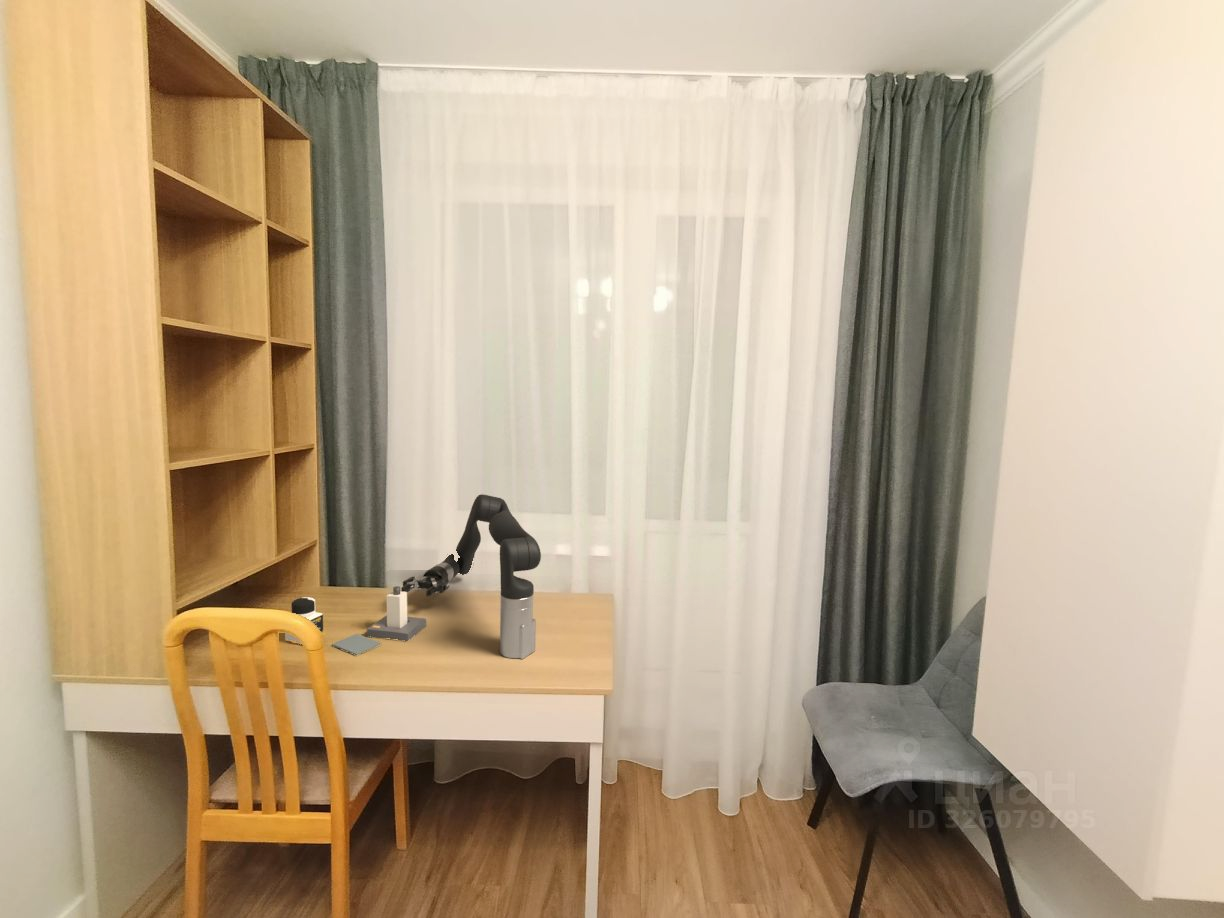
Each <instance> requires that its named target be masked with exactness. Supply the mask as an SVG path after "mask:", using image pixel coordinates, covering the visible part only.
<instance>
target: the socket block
mask: <svg viewBox="0 0 1224 918" xmlns="http://www.w3.org/2000/svg"><path fill="white" fill-rule="evenodd" d="M426 627H427V618H425V617H415V616H407V624H406V625H404V626H403V627H402V628H394V627H387V614H386V615H385V616H384V617H382V618H381V619H379V620H378V621H376V622H374V623H373V624H372V625H370V626H369V627H368V628H366V637H367V636H369V637H368V638H372V637H379V638H378V639H380V638H390V639H398V640H405V641H404V642H406V641H408V640H409V639H410V640H412V639H413V638H414V637H415V636H416V635H418V634H417V633H418V632H419V633H420V632H422V630H424V629H425V628H426ZM414 635H415V636H414ZM370 636H371V637H370ZM413 636H414V637H413ZM412 637H413V638H412ZM411 638H412V639H411ZM410 640H409V641H410ZM409 641H408V642H409Z"/></svg>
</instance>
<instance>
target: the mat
mask: <svg viewBox="0 0 1224 918" xmlns="http://www.w3.org/2000/svg"><path fill="white" fill-rule="evenodd" d="M380 644H381V645H382V642H380V641H377V640H375V639H373V638H370V637H367V636H364V635H362V634H361V635H360V634H358V633H356V634H352V635H351V636H348V637H346V638H343V639H341V640H337V641H335V642H333V643H332V644H331V646H332V647H333V646H334V647H333V648H336V647H338V648H340V649H339V650H341V649H343V650H345V651H348V652H350V653H353V654H355V655H358V654H360V653H362V652H365V651H367V650H369V649H371V648H374V647H376V646H378V645H380ZM378 647H379V646H378ZM338 648H337V649H338ZM376 648H377V647H376ZM374 649H375V648H374ZM343 650H342V651H343ZM345 651H344V652H345ZM369 651H370V650H369ZM348 652H347V653H348ZM367 652H368V651H367ZM350 653H349V654H350ZM365 653H366V652H365ZM353 654H352V655H353ZM355 655H354V656H355ZM358 656H359V655H358Z"/></svg>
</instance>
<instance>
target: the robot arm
mask: <svg viewBox="0 0 1224 918" xmlns="http://www.w3.org/2000/svg"><path fill="white" fill-rule="evenodd" d="M467 517H468V518H467V521H466V525H465V527H464V528H465V529H464V531H463V533H462V536H461V538H460V540H459V542H458V543H457V545H456V548H455V549H456V551H457V553H458V555H459V556H460V558H458V561H457V562H456V561H455V560H454V555H453V554H451V555H449V556H448V557H447V558H446V557H445V558H446V559H445V558H444V560H443V561H441V562H440V563H438V564H436V565H434V566H433V567H431V568H429V569H428V570H426V571H425V572H424V573H423V576H422V577H419V578H416V577H415V576H411V577H409V578H407V579H405V580H404V581H402V587H400V591H402V592H407V593H408V592H410V591H413V590H414V591H418V590H426V592H425V593H426V597H431V596H432V595H433V596H434V594H437V593H440V594H443V593H445V591H447V590H448V589H449V588H450V582H451V580H452V579H454V578H455V577H456V576H458V575H460V574H462V575H461V576H465V575H464V574H466V575H468V574H469V573H470V572H469V570H470V568H471V565H472V561H473V558H474V559H475V555H476V551H477V550H478V548H479V546H480V544H481V540H482V536H481V532H480V530H479V529H480V528H479V527H478V521H479V522H484V523H488V532H489V534H490V537H491V538H492V541H494V542H495V543H496V545H498V546H499V566H500V567H499V568H500V570H499V571H500V572H499V573H500V613H499V616H500V622H499V623H500V625H499V626H500V627H499V629H500V630H499V631H500V632H499V640H500V642H499V653H500V654H501V655H502V656H503V657H505V658H507V659H522V660H523V659H524V658H526V657H528V656H529V655H530V654H532V653H534V652H536V635H537V634H536V633H537V632H536V630H537V620H536V618H534V592H535V590H534V584H533V582H532V581H530V580H528V579H526V578H523V577H518V576H516V575H515V574H514V572H515V573H516V572H523V571H524V572H525V571H531V570H534V569H536V568H538V566H539V565H540V563H541V559H542V553H541V548H540V546H539V543H538V541H537V540H536V539H535V538H534V537H533V536H532V535H530V534H529V533H528V532H527V531H525V529H524V528H523V526H522V525H521V524H520V523H519V522H518V520H517V519H516V518H515V517H514V515H513V514H512V513H511V511H510V509H509V506H508V504H507V503H506V500H504V499H503V498H501V497H497V496H493V495H489V494H482V493H481V494H479V495H477V496H476V497H475V499H474V501H473V504H472V506H471V509H470V513H469V515H468V516H467ZM468 572H469V573H468ZM458 573H460V574H458ZM467 573H468V574H467Z"/></svg>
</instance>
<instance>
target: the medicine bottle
mask: <svg viewBox="0 0 1224 918" xmlns="http://www.w3.org/2000/svg"><path fill="white" fill-rule="evenodd" d="M292 613H296V614H299V615H301V616H303V617H306V618H307V619H309V620H311V621H312V622H313V623H314V624H315V625H316V626H317V627H318V628H319V630H320V631H321V632H322V634H323V635H324V614H323V612H318V611H316V599H315V598H313V597H307V596H304V597H303V596H302V597H299V598H297V599H295V600H293V601H292V602H291V614H292ZM287 639H288V640H293V641H295V640H296V642H298V643H299V644H300V642H299V641H298V639H297V638H295V637H294V636H292V635H290V634H287V633H285V632H284V640H287ZM299 644H298V645H299ZM300 646H302V645H301V644H300Z"/></svg>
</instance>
